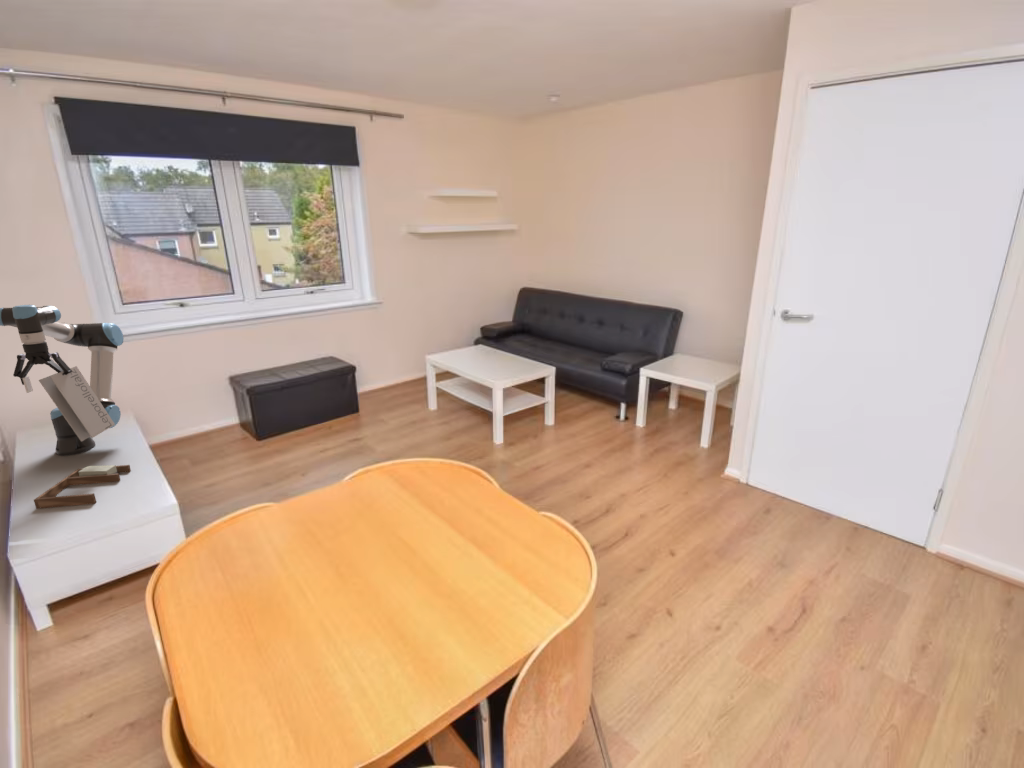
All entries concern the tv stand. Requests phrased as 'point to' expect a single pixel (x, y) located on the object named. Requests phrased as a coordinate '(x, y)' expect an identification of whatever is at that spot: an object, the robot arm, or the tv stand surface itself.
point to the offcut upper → (97, 470)
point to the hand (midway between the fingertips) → (48, 390)
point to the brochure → (77, 403)
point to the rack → (74, 479)
